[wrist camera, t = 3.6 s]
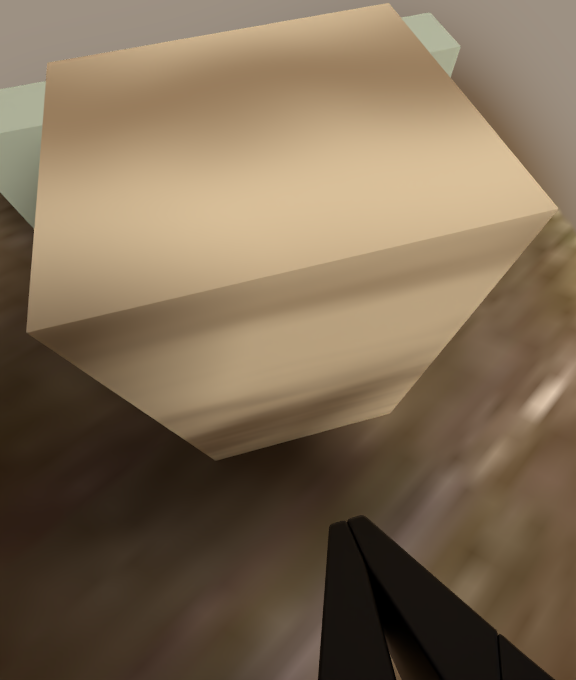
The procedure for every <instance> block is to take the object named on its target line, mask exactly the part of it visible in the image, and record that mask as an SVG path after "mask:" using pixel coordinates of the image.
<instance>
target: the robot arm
mask: <svg viewBox="0 0 576 680" xmlns="http://www.w3.org/2000/svg"><path fill="white" fill-rule="evenodd" d="M389 652H390V653H389ZM390 654H391V657H392V659H393V661H394V663H395V665H396V668H397V670H398V672H399V674H400V677H401V679H402V680H555V679H553V678H552V677H551V676H550V675H549V674H547V673H546V672H545V671H544V670H543V669H541V668H540V667H539V666H538V665H537V664H535V663H534V662H533V661H532V660H531V659H529V658H528V657H527V656H526V655H525V654H523V653H522V652H521V651H520V650H519V649H518V648H516V647H515V646H514V645H513V644H512V643H511V642H510V641H508V640H507V639H506V638H505V637H504V636H503V635H501V634H499V635H498V633H497V631H496V629H494V628H493V627H492V626H491V625H490V624H489V623H487V622H486V621H485V620H484V619H483V618H482V617H481V616H479V615H478V614H477V613H476V612H475V611H474V610H472V609H471V608H470V607H469V606H468V605H467V604H466V603H464V602H463V601H462V600H461V599H460V598H459V597H458V596H456V595H455V594H454V593H453V592H452V591H451V590H449V589H448V588H447V587H446V586H445V585H444V584H443V583H441V582H440V581H439V580H438V579H437V578H436V577H435V576H433V575H432V574H431V573H430V572H429V571H428V570H426V569H425V568H424V567H423V566H422V565H421V564H420V563H418V562H417V561H416V560H415V559H414V558H413V557H411V556H410V555H409V554H408V553H407V552H406V551H405V550H403V549H402V548H401V547H400V546H399V545H398V544H397V543H395V542H394V541H393V540H392V539H391V538H390V537H388V536H387V535H386V534H385V533H384V532H383V531H382V530H380V529H379V528H378V527H377V526H376V525H375V524H374V523H372V522H371V521H370V520H369V519H368V518H367V517H365V516H363V515H360V516H357V517H353V518H350V519H348V521H347V522H346V521H340V522H337V523H333V524H331V525H330V527H329V536H328V550H327V564H326V577H325V591H324V605H323V619H322V632H321V646H320V660H319V673H318V680H396V677H395V673H394V669H393V665H392V661H391V657H390Z"/></svg>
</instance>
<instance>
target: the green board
mask: <svg viewBox="0 0 576 680" xmlns="http://www.w3.org/2000/svg"><path fill="white" fill-rule="evenodd" d="M402 20H403V21H404V22H405V23H406V25H407V26H408V27H409V28H410V29H411V31H412V32H413V33H414V34H415V35H416V37H417V38H418V39H419V40H420V41H421V43H422V44H423V45H424V46H425V48H426V49H427V50H428V51H429V52H430V54H431V55H432V56H433V57H434V58H435V60H436V61H437V62H438V63H439V65H440V66H441V67H442V68H443V69H444V71H445V72H446V73H447V74H448V75H449V77H451V74H452V71H453V68H454V65H455V62H456V59H457V56H458V53H459V50H460V47H461V46H460V45H459V44H458V43H457V42H456V41H455V40H454V39H453V37H452V36H451V35H450V34H449V33H448V32H447V31H446V30H445V29H444V27H443V26H442V25H441V24H440V23H439V22H438V21H437V20H436V19H435V18H434V17H433V15H431V13H425V14H419V15H414V16H408V17H402ZM45 86H46V81H44V82H38V83H33V84H27V85H21V86H16V87H10V88H5V89H0V193H1V194H2V195H3V196H4V197H5V198H6V199H7V200H8V201H9V202H10V203H11V205H12V206H13V207H14V208H15V209H16V210H17V211H18V212H19V213H20V214H21V215H22V216H23V218H24V219H25V220H26V221H27V222H28V223H29V224H30V225H31V226H32V227H33V228H34V227H35V214H36V201H37V188H38V176H39V163H40V150H41V137H42V124H43V112H44V99H45Z"/></svg>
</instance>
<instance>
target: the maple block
mask: <svg viewBox="0 0 576 680" xmlns="http://www.w3.org/2000/svg"><path fill="white" fill-rule="evenodd" d="M557 210H558V207H557V206H556V205H555V204H554V203H553V201H552V200H551V199H550V198H549V197H548V195H547V194H546V193H545V192H544V190H543V189H542V188H541V187H540V186H539V184H538V183H537V182H536V181H535V180H534V178H533V177H532V176H531V175H530V174H529V172H528V171H527V170H526V169H525V167H524V166H523V165H522V164H521V163H520V161H519V160H518V159H517V158H516V157H515V155H514V154H513V153H512V152H511V151H510V149H509V148H508V147H507V146H506V144H505V143H504V142H503V141H502V140H501V138H500V137H499V136H498V135H497V134H496V132H495V131H494V130H493V129H492V127H491V126H490V125H489V124H488V123H487V122H486V120H485V119H484V118H483V117H482V116H481V114H480V113H479V112H478V111H477V109H476V108H475V107H474V106H473V104H472V103H471V102H470V101H469V100H468V98H467V97H466V96H465V95H464V94H463V92H462V91H461V90H460V89H459V88H458V86H457V85H456V84H455V83H454V81H453V80H452V79H451V78H450V77H449V75H448V74H447V73H446V72H445V71H444V69H443V68H442V67H441V66H440V65H439V63H438V62H437V61H436V60H435V58H434V57H433V56H432V55H431V54H430V52H429V51H428V50H427V49H426V48H425V46H424V45H423V44H422V43H421V41H420V40H419V39H418V38H417V37H416V35H415V34H414V33H413V32H412V31H411V29H410V28H409V27H408V26H407V25H406V23H405V22H404V21H403V20H402V18H401V17H400V16H399V15H398V14H397V13H396V11H395V10H394V9H393V8H392V6H391V5H390V4H389V3H386V4H380V5H375V6H369V7H363V8H357V9H352V10H346V11H340V12H335V13H329V14H324V15H318V16H312V17H306V18H301V19H295V20H289V21H283V22H277V23H272V24H266V25H261V26H255V27H249V28H243V29H237V30H232V31H226V32H220V33H215V34H209V35H203V36H197V37H192V38H187V39H181V40H175V41H169V42H163V43H157V44H152V45H146V46H140V47H135V48H129V49H124V50H117V51H112V52H106V53H101V54H95V55H89V56H83V57H78V58H72V59H66V60H60V61H55V62H49V63H47V73H46V86H45V99H44V112H43V124H42V137H41V150H40V163H39V176H38V188H37V201H36V214H35V227H34V239H33V252H32V265H31V278H30V291H29V303H28V316H27V329H26V333H27V334H29V335H30V336H32V337H33V338H35V339H36V340H38V341H39V342H41V343H42V344H44V345H45V346H46V347H48V348H49V349H51V350H52V351H54V352H55V353H57V354H58V355H60V356H61V357H63V358H64V359H66V360H67V361H69V362H70V363H72V364H73V365H75V366H76V367H78V368H79V369H81V370H82V371H83V372H85V373H86V374H88V375H89V376H91V377H92V378H94V379H95V380H97V381H98V382H100V383H101V384H103V385H104V386H106V387H107V388H109V389H110V390H112V391H113V392H115V393H116V394H118V395H119V396H120V397H122V398H123V399H125V400H126V401H128V402H129V403H131V404H132V405H134V406H135V407H137V408H138V409H140V410H141V411H143V412H144V413H146V414H147V415H149V416H150V417H152V418H153V419H155V420H156V421H157V422H159V423H160V424H162V425H163V426H165V427H166V428H168V429H169V430H171V431H172V432H174V433H175V434H177V435H178V436H180V437H181V438H183V439H184V440H186V441H187V442H189V443H190V444H192V445H193V446H194V447H196V448H197V449H199V450H200V451H202V452H203V453H205V454H206V455H208V456H209V457H211V458H212V459H214V460H215V461H217V460H220V459H224V458H228V457H231V456H235V455H239V454H243V453H246V452H250V451H254V450H257V449H261V448H265V447H268V446H272V445H276V444H279V443H283V442H287V441H290V440H294V439H298V438H301V437H305V436H309V435H312V434H316V433H320V432H323V431H327V430H331V429H334V428H338V427H342V426H345V425H349V424H353V423H356V422H360V421H364V420H367V419H371V418H375V417H378V416H382V415H386V414H389V413H391V411H392V410H393V409H394V408H395V407H396V405H397V404H398V403H399V402H400V401H401V399H402V398H403V397H404V396H405V394H406V393H407V392H408V391H409V390H410V388H411V387H412V386H413V385H414V384H415V382H416V381H417V380H418V379H419V377H420V376H421V375H422V374H423V373H424V371H425V370H426V369H427V368H428V367H429V365H430V364H431V363H432V362H433V360H434V359H435V358H436V357H437V356H438V354H439V353H440V352H441V351H442V350H443V348H444V347H445V346H446V345H447V343H448V342H449V341H450V340H451V339H452V337H453V336H454V335H455V334H456V333H457V331H458V330H459V329H460V328H461V326H462V325H463V324H464V323H465V322H466V320H467V319H468V318H469V317H470V316H471V314H472V313H473V312H474V311H475V309H476V308H477V307H478V306H479V305H480V303H481V302H482V301H483V300H484V299H485V297H486V296H487V295H488V294H489V292H490V291H491V290H492V289H493V288H494V286H495V285H496V284H497V283H498V282H499V280H500V279H501V278H502V277H503V275H504V274H505V273H506V272H507V271H508V269H509V268H510V267H511V266H512V265H513V263H514V262H515V261H516V260H517V258H518V257H519V256H520V255H521V254H522V252H523V251H524V250H525V249H526V248H527V246H528V245H529V244H530V243H531V241H532V240H533V239H534V238H535V237H536V235H537V234H538V233H539V232H540V231H541V229H542V228H543V227H544V226H545V224H546V223H547V222H548V221H549V220H550V218H551V217H552V216H553V215H554V214H555V212H556V211H557Z"/></svg>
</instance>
